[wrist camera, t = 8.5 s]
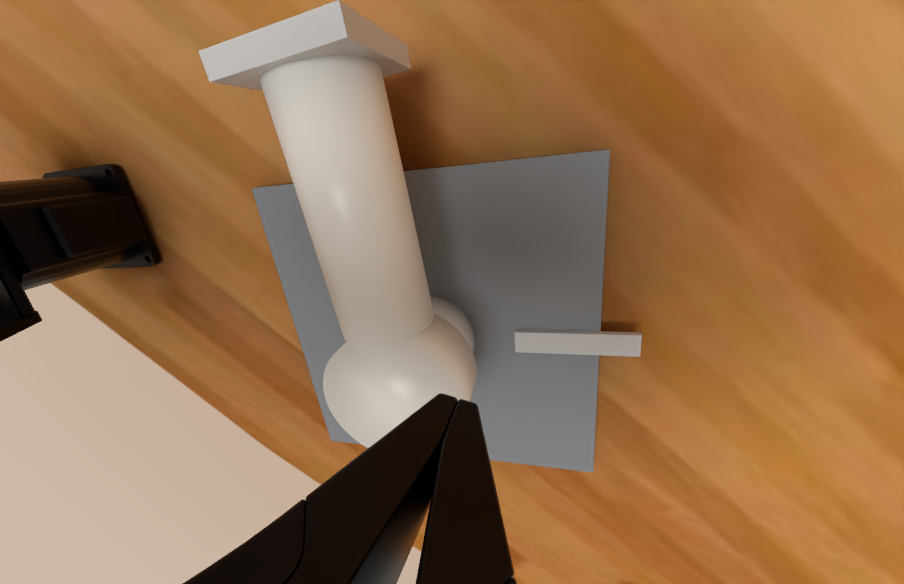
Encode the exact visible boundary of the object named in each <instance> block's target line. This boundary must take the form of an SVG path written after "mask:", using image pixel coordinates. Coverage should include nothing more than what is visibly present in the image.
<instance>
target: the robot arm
mask: <svg viewBox="0 0 904 584" xmlns="http://www.w3.org/2000/svg"><path fill="white" fill-rule="evenodd" d="M159 263H160V258H159V255H158V253H157V251H156V248H155V246H154V244H153V242H152V239H151V237H150V235H149V233H148V230H147V228H146V226H145V224H144V221H143V219H142V217H141V215H140V212H139V210H138V208H137V206H136V203H135V201H134V199H133V197H132V194H131V192H130V190H129V187H128V185H127V183H126V181H125V178H124V176H123V174H122V172H121V170H120V168H119V167H118V166H116V165H115V164H104V165H98V166H91V167H85V168H78V169H72V170H65V171H58V172H52V173H45V174H44V175H43V179H31V180H19V181H6V182H0V341H2V340H4V339H6V338H8V337H10V336H12V335H14V334H16V333H18V332H20V331H22V330H24V329H26V328H28V327H30V326H32V325H34V324H36V323H38V322H40V321H42V319H41V317H40V315H39V313H38V312H37V311H35V310H34V308H33V307H32V305H31V303H30V301H29V299H28V297H27V295H26V293H25V291H24V290H27V289H30V288H34V287H37V286H41V285H44V284H48V283H51V282H55V281H58V280H61V279H65V278H68V277H72V276H75V275H79V274H82V273H86V272H89V271H92V270H96V269H99V268H123V267H150V266H154V265H157V264H159ZM429 505H430V508H429ZM428 508H429V513H428V519H427V524H426V530H425V535H424V541H423V546H422V552H421V558H420V563H419V569H418V574H417V580H416V584H517V582H516V580H515V579H514V578H513V576H514V570H513V565H512V560H511V556H510V551H509V547H508V542H507V537H506V533H505V528H504V524H503V519H502V514H501V510H500V505H499V501H498V496H497V491H496V487H495V482H494V478H493V473H492V468H491V464H490V459H489V455H488V450H487V445H486V441H485V436H484V432H483V427H482V422H481V418H480V413H479V409H478V406H477V404H476V403H473V402H470V401H467V400H463V399H459V400H457V398H456V397H453V396H450V395H446V394H443V393H440V394H438V395H436V396H435V397H434V398H432V399H431V400H430V401H429V402H427V403H426V404H425V405H423V406H422V407H421V408H420V409H418V410H417V411H416V412H414V413H413V414H412V415H411V416H409V417H408V418H407V419H405V420H404V421H403V422H402V423H400V424H399V425H398V426H396V427H395V428H394V429H393V430H391V431H390V432H389V433H387V434H386V435H385V436H384V437H382V438H381V439H380V440H378V441H377V442H376V443H375V444H373V445H372V446H371V447H369V448H368V449H367V450H366V451H364V452H363V453H362V454H360V455H359V456H358V457H357V458H355V459H354V460H353V461H351V462H350V463H349V464H348V465H346V466H345V467H344V468H342V469H341V470H340V471H339V472H337V473H336V474H335V475H333V476H332V477H331V478H330V479H328V480H327V481H326V482H324V483H323V484H322V485H321V486H319V487H318V488H317V489H315V490H314V491H313V492H311V493H310V494H309V495H308V496H307V497H306V501H305V500H301V501H300V502H298V503H297V504H296V505H294V506H293V507H292V508H291V509H289V510H288V511H287V512H286V513H284V514H283V515H282V516H280V517H279V518H278V519H276V520H275V521H274V522H272V523H271V524H270V525H268V526H267V527H266V528H264V529H263V530H261V531H260V532H259V533H257V534H256V535H255V536H253V537H252V538H251V539H249V540H248V541H246V542H245V543H244V544H242V545H241V546H239V547H238V548H236V549H235V550H233V551H232V552H230V553H229V554H227V555H226V556H224V557H223V558H221V559H220V560H218V561H217V562H215V563H214V564H212V565H211V566H209V567H208V568H206V569H205V570H203V571H202V572H200V573H199V574H197V575H195V576H194V577H193V578H191V579H189V580H188V581H186V582H185V583H183V584H396V583H397V581H398V578H399V576H400V574H401V572H402V569H403V567H404V565H405V562H406V560H407V558H408V555H409V553H410V551H411V548H412V546H413V544H414V541H415V539H416V537H417V534H418V532H419V530H420V527H421V525H422V523H423V520H424V518H425V515H426V513H427V510H428Z"/></svg>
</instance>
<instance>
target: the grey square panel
mask: <svg viewBox="0 0 904 584" xmlns="http://www.w3.org/2000/svg"><path fill="white" fill-rule="evenodd" d="M609 161H610V149H603V150H594V151H585V152H576V153H566V154H557V155H548V156H539V157H530V158H520V159H511V160H502V161H493V162H484V163H474V164H465V165H456V166H447V167H438V168H429V169H419V170H410V171H403V172H404V177H405V181H406V186H407V190H408V195H409V200H410V204H411V209H412V214H413V218H414V223H415V228H416V232H417V237H418V241H419V246H420V251H421V255H422V260H423V265H424V269H425V274H426V278H427V283H428V288H429V292H430V297H431V302H432V306H433V311H434V314H436V315H438V316H440V317H442V318H443V319H445V320H446V321H448V322H449V323H450V324H452V325H453V326H454V327H455V328H456V329H457V330H458V331H459V332H460V333H461V334H462V335H463V337H464V338H465V339H466V341H467V342H468V344H469V346H470V347H471V349H472V352H473V354H474V357H475V361H476V367H477V378H476V383H475V387H474V390H473V394H472V397H471V400H470V402H473V403H476V404H477V406H478V409H479V413H480V418H481V422H482V427H483V432H484V436H485V441H486V445H487V450H488V455H489V459H490V460H495V461H503V462H511V463H519V464H527V465H536V466H544V467H552V468H560V469H568V470H577V471H585V472H593V466H594V447H595V428H596V409H597V389H598V370H599V355H603V356H629V357H640V352H641V343H642V334H641V332H605V331H601V313H602V294H603V275H604V256H605V237H606V218H607V199H608V180H609ZM252 192H253V195H254V198H255V201H256V204H257V207H258V211H259V214H260V217H261V220H262V223H263V226H264V230H265V233H266V236H267V239H268V242H269V245H270V249H271V252H272V255H273V258H274V261H275V264H276V268H277V271H278V274H279V277H280V280H281V283H282V286H283V290H284V293H285V296H286V299H287V302H288V305H289V309H290V312H291V315H292V318H293V321H294V324H295V328H296V331H297V334H298V337H299V340H300V343H301V347H302V350H303V353H304V356H305V359H306V362H307V366H308V369H309V372H310V375H311V378H312V381H313V385H314V388H315V391H316V394H317V397H318V400H319V404H320V407H321V410H322V413H323V416H324V419H325V423H326V426H327V429H328V432H329V435H330V438H331V441H339V442H347V443H355V444H360V443H359V442H357V441H356V440H355V439H354V438H352V437H351V436H350V435H349V434H348V433H347V432H346V431H345V430H344V429H343V428H342V427H341V426H340V425H339V423H338V422H337V421H336V419H335V418H334V416H333V414H332V413H331V411H330V409H329V407H328V405H327V402H326V399H325V396H324V390H323V376H324V371H325V368H326V365H327V363H328V362H329V360H330V358H331V357H332V356H333V355H334V354H335V353H336V352H337V351H338V350H339V348H340V347H341V346H342V345H343V344H344V343H345V342H346V341H345V340H344V337H343V334H342V331H341V328H340V325H339V322H338V319H337V316H336V313H335V309H334V306H333V303H332V300H331V297H330V294H329V291H328V288H327V285H326V282H325V279H324V276H323V273H322V270H321V267H320V264H319V260H318V257H317V254H316V251H315V248H314V245H313V242H312V239H311V236H310V233H309V230H308V227H307V224H306V221H305V218H304V215H303V212H302V208H301V205H300V202H299V199H298V196H297V193H296V190H295V187H294V184H293V183H291V184H282V185H272V186H263V187H257V188H252Z"/></svg>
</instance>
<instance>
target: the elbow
mask: <svg viewBox="0 0 904 584" xmlns="http://www.w3.org/2000/svg"><path fill="white" fill-rule="evenodd" d="M198 52H199V54H200V57H201V60H202V62H203V65H204V68H205V70H206V73H207V76H208V78H209V81H210V82H213V83H219V84H225V85H231V86H237V87H243V88H249V89H255V90H261V91H263V92H264V95H265V98H266V101H267V104H268V107H269V111H270V114H271V117H272V120H273V123H274V126H275V129H276V132H277V135H278V138H279V141H280V144H281V147H282V150H283V153H284V156H285V159H286V163H287V166H288V169H289V172H290V175H291V178H292V181H293V184H294V187H295V190H296V193H297V196H298V199H299V202H300V205H301V208H302V212H303V215H304V218H305V221H306V224H307V227H308V230H309V233H310V236H311V239H312V242H313V245H314V248H315V251H316V254H317V257H318V260H319V264H320V267H321V270H322V273H323V276H324V279H325V282H326V285H327V288H328V291H329V294H330V297H331V300H332V303H333V306H334V309H335V313H336V316H337V319H338V322H339V325H340V328H341V331H342V334H343V337H344V340H345V341H346V342H345V343H344V344H343V345H342V346H341V347H340V348H339V350H338V351H337V352H336V353H335V354H334V355H333V356H332V357H331V358H330V360H329V362H328V363H327V365H326V368H325V371H324V376H323V390H324V396H325V399H326V402H327V405H328V407H329V409H330V411H331V413H332V414H333V416H334V418H335V419H336V421H337V422H338V423H339V425H340V426H341V427H342V428H343V429H344V430H345V431H346V432H347V433H348V434H349V435H350V436H351V437H352V438H354V439H355V440H356V441H357V442H359V443H360V444H362V445H363V446H365V447H367V448H369V447H371V446H372V445H373V444H375V443H376V442H377V441H378V440H380V439H381V438H382V437H384V436H385V435H386V434H387V433H389V432H390V431H391V430H393V429H394V428H395V427H396V426H398V425H399V424H400V423H402V422H403V421H404V420H405V419H407V418H408V417H409V416H411V415H412V414H413V413H414V412H416V411H417V410H418V409H420V408H421V407H422V406H423V405H425V404H426V403H427V402H429V401H430V400H431V399H432V398H434V397H435V396H436V395H438V394H440V393H443V394H446V395H450V396H453V397H456V398H457V400H459V399H463V400H467V401H470V400H471V397H472V394H473V390H474V387H475V383H476V378H477V367H476V361H475V357H474V354H473V352H472V349H471V347H470V346H469V344H468V342H467V341H466V339H465V338H464V337H463V335H462V334H461V333H460V332H459V331H458V330H457V329H456V328H455V327H454V326H453V325H452V324H450V323H449V322H448V321H446V320H445V319H443V318H442V317H440V316H438V315H436V314H434V311H433V306H432V302H431V297H430V292H429V288H428V283H427V278H426V274H425V269H424V265H423V260H422V255H421V251H420V246H419V241H418V237H417V232H416V228H415V223H414V218H413V214H412V209H411V204H410V200H409V195H408V190H407V186H406V181H405V177H404V172H403V167H402V163H401V158H400V153H399V149H398V144H397V139H396V135H395V130H394V126H393V121H392V116H391V112H390V107H389V102H388V98H387V93H386V89H385V84H384V79H383V77H385V76H389V75H392V74H396V73H399V72H403V71H407V70H410V69H411V64H410V59H409V53H408V48H407V44H405V43H404V42H402V41H400V40H399V39H397V38H396V37H394V36H393V35H391V34H390V33H388V32H387V31H385V30H384V29H382V28H381V27H379V26H378V25H376V24H375V23H373V22H372V21H370V20H369V19H367V18H365V17H364V16H362V15H361V14H359V13H358V12H356V11H355V10H353V9H352V8H350V7H349V6H347V5H346V4H344V3H343V2H341V1H340V0H337V1H335V2H332V3H329V4H326V5H324V6H321V7H318V8H315V9H313V10H310V11H307V12H304V13H302V14H299V15H296V16H293V17H291V18H288V19H285V20H282V21H280V22H277V23H274V24H271V25H269V26H266V27H263V28H260V29H258V30H255V31H252V32H249V33H247V34H244V35H241V36H239V37H236V38H233V39H230V40H228V41H225V42H222V43H219V44H217V45H214V46H211V47H208V48H206V49H203V50H200V51H198Z"/></svg>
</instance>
